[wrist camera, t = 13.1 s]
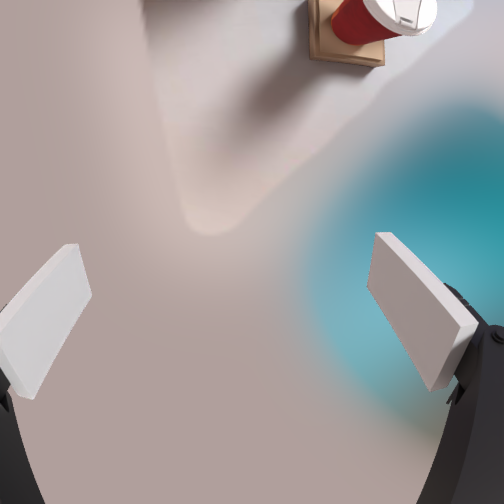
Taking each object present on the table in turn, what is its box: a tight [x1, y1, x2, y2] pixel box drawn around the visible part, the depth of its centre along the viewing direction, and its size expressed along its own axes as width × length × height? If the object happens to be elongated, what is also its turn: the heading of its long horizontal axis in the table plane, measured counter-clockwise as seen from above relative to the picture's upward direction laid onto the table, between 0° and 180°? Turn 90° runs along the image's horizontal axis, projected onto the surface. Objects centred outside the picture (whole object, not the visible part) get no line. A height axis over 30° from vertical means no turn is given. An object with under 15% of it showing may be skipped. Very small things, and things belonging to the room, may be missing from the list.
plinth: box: [308, 0, 385, 67], centre depth 33 cm, size 10×10×4 cm
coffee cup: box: [331, 0, 437, 46], centre depth 24 cm, size 8×8×15 cm
